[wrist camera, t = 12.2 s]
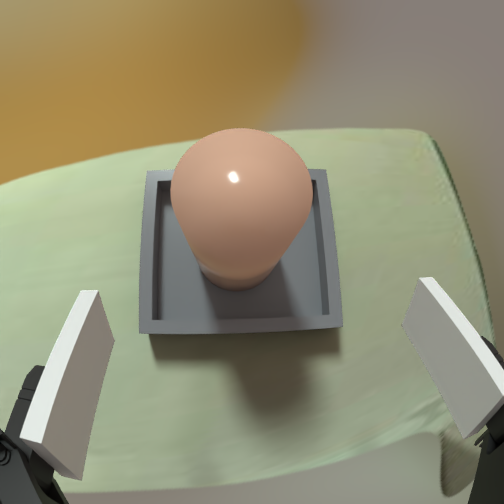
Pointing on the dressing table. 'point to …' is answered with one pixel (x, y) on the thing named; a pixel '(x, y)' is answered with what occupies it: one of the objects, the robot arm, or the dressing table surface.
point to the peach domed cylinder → (240, 204)
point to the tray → (236, 302)
